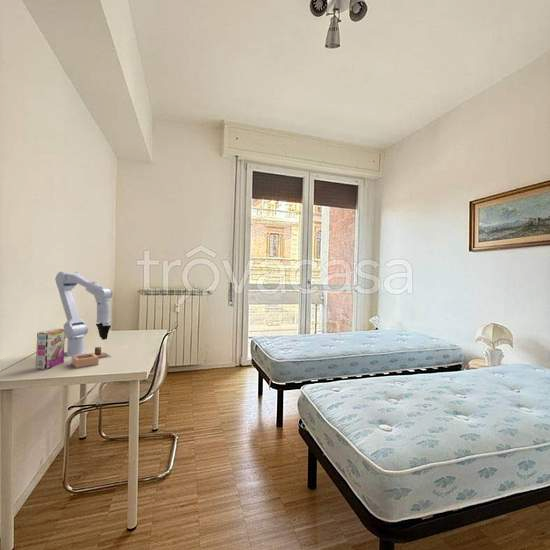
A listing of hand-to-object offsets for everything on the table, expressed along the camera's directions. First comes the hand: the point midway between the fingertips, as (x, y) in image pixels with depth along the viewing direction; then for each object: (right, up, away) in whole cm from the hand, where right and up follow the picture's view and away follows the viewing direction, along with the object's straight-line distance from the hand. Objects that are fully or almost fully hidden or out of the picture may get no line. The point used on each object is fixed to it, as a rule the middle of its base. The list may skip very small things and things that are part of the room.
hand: (103, 338), depth 154 cm
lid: (-3, -9, 0) cm, 10 cm away
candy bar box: (-15, -10, -16) cm, 24 cm away
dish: (-1, -10, -13) cm, 17 cm away
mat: (-3, -10, 0) cm, 10 cm away
